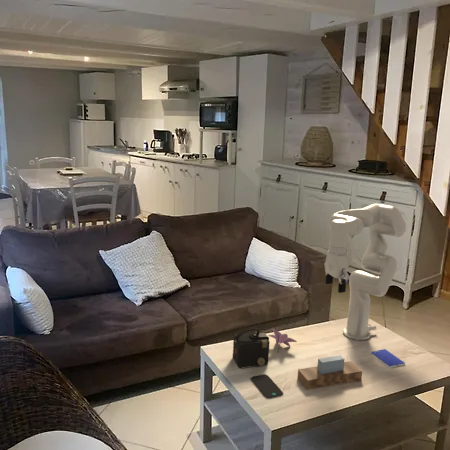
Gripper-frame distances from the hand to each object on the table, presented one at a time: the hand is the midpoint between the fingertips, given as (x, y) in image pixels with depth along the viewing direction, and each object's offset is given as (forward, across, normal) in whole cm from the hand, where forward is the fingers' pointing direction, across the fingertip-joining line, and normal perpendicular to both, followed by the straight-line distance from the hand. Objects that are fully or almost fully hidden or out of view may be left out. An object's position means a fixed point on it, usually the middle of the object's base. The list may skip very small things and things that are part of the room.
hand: (335, 287), depth 201 cm
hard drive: (+32, +12, +20) cm, 40 cm away
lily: (+30, -9, -20) cm, 37 cm away
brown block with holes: (+30, +19, -12) cm, 37 cm away
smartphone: (+29, +16, -38) cm, 51 cm away
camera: (+30, -3, -37) cm, 47 cm away
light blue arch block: (+30, +19, -12) cm, 37 cm away
